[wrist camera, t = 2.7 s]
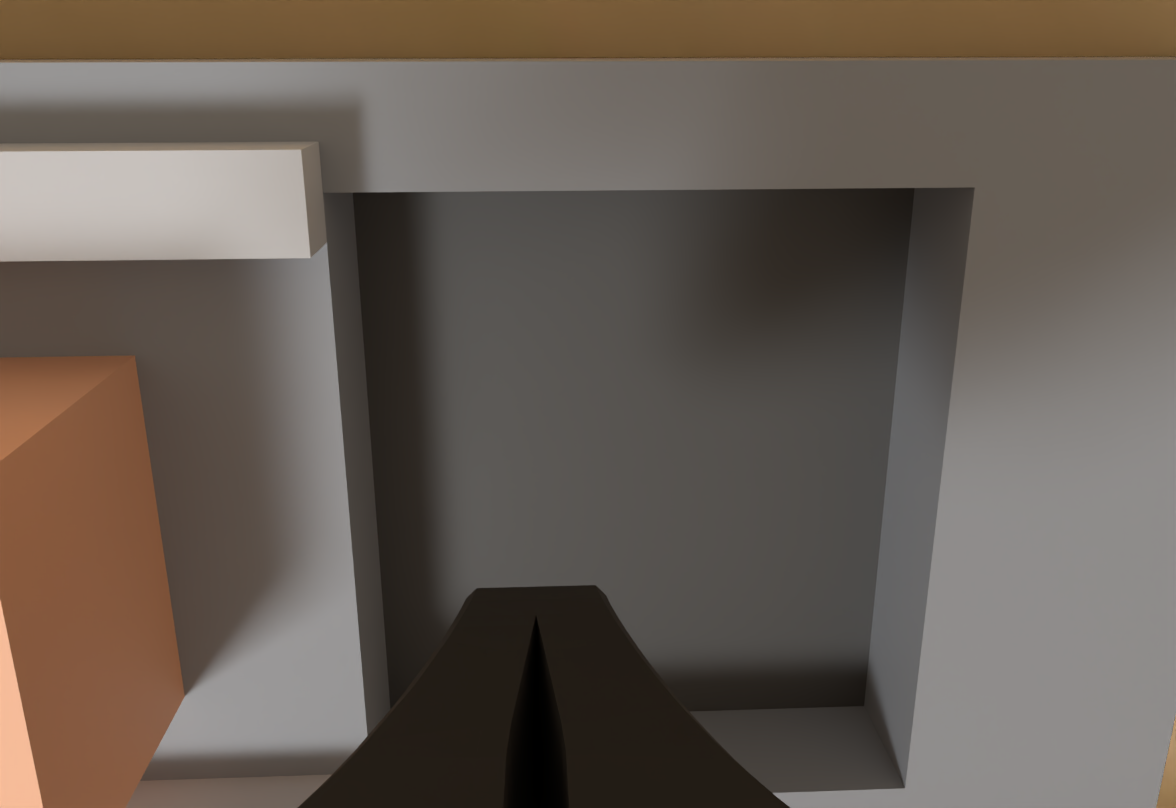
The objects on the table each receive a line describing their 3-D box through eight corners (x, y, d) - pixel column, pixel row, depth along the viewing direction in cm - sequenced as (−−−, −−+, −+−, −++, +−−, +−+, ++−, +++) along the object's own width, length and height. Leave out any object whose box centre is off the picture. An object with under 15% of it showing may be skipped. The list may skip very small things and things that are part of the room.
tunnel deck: (1069, 757, 19) (1182, 907, 16) (-685, 816, 18) (-966, 994, 14) (1191, 57, 15) (1376, 59, 12) (-1046, 61, 14) (-1546, 68, 10)
